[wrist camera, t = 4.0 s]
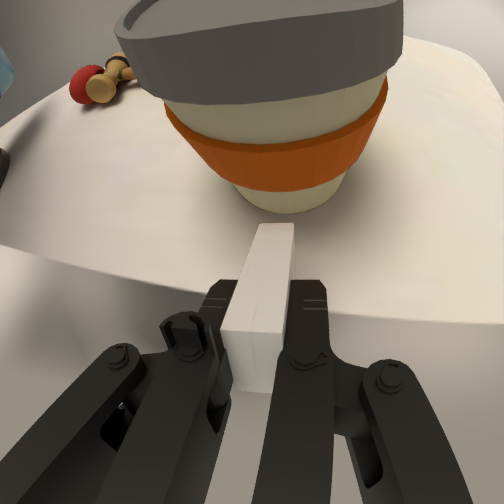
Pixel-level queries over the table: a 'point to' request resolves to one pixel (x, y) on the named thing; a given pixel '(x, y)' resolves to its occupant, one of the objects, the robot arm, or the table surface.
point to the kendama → (100, 80)
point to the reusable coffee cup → (268, 86)
